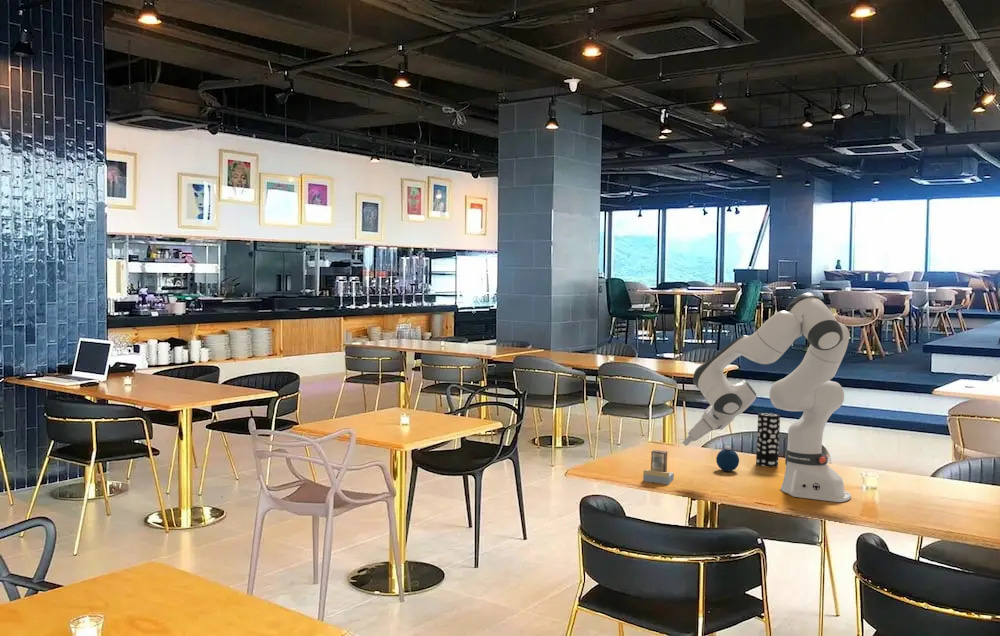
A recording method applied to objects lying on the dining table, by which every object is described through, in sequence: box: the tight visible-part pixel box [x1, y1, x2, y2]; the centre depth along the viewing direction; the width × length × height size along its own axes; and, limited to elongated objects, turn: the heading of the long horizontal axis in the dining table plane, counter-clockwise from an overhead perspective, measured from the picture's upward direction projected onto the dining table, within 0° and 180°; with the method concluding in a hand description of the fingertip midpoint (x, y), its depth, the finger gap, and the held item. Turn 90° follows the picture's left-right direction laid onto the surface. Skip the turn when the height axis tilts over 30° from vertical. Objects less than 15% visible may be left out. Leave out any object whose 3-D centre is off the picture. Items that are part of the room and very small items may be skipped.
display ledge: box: [642, 469, 675, 485], centre depth 300 cm, size 9×8×4 cm
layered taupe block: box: [650, 449, 668, 472], centre depth 300 cm, size 5×3×8 cm, turn 66°
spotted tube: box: [755, 412, 781, 468], centre depth 332 cm, size 8×8×20 cm
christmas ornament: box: [715, 445, 740, 472], centre depth 319 cm, size 8×8×10 cm
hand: (687, 441), depth 296 cm, fingers open, 8 cm apart
